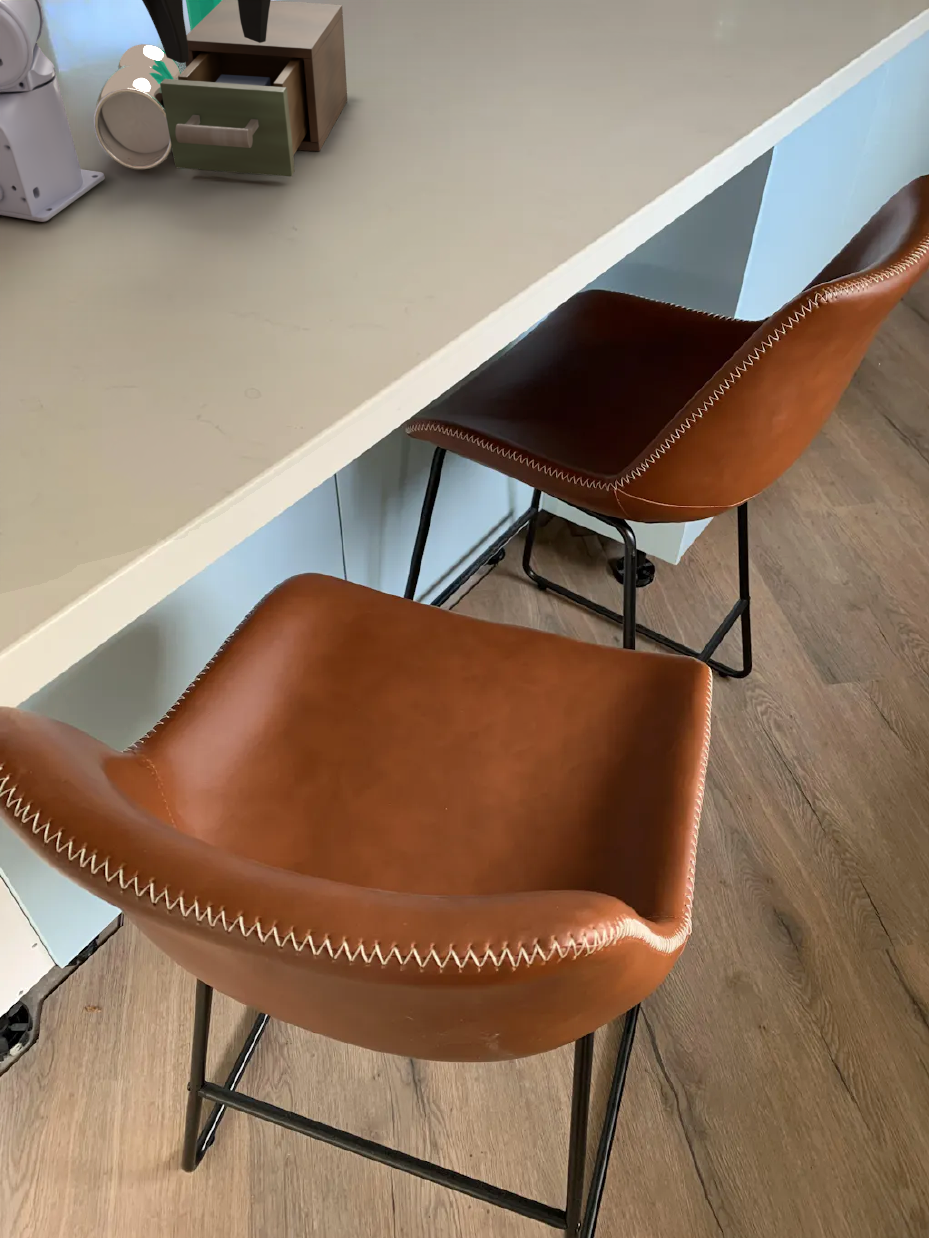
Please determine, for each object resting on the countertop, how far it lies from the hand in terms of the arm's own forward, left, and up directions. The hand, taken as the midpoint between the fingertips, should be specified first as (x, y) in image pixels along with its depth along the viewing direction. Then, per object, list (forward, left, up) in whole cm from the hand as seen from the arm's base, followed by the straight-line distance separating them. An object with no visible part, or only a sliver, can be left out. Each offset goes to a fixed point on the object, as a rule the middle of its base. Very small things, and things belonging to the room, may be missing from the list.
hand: (217, 49), depth 77 cm
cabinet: (+14, +2, -10) cm, 18 cm away
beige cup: (+12, +14, -7) cm, 20 cm away
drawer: (+4, +1, -10) cm, 10 cm away
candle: (+27, +14, -11) cm, 33 cm away
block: (+5, +1, -8) cm, 10 cm away
